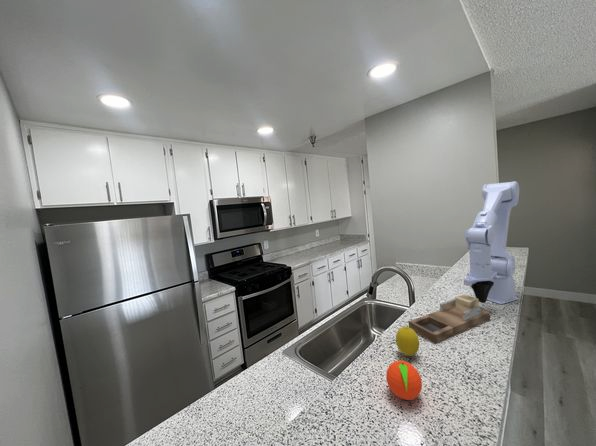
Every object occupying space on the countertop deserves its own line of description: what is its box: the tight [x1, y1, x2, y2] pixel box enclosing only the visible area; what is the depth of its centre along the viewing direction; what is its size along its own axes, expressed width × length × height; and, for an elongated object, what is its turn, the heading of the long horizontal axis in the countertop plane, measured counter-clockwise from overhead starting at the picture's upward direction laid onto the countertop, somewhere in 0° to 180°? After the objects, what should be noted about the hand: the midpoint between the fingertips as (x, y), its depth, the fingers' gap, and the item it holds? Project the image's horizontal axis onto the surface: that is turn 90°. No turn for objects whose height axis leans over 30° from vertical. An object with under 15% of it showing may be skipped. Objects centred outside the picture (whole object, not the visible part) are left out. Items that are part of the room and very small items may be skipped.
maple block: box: [455, 294, 480, 312], centre depth 77 cm, size 4×4×4 cm
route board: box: [408, 307, 491, 345], centre depth 74 cm, size 25×9×2 cm, turn 112°
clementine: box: [385, 360, 423, 401], centre depth 49 cm, size 8×7×7 cm
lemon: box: [395, 326, 420, 357], centre depth 62 cm, size 6×6×8 cm
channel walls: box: [439, 298, 482, 321], centre depth 76 cm, size 8×8×2 cm
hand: (481, 301), depth 80 cm, fingers closed
